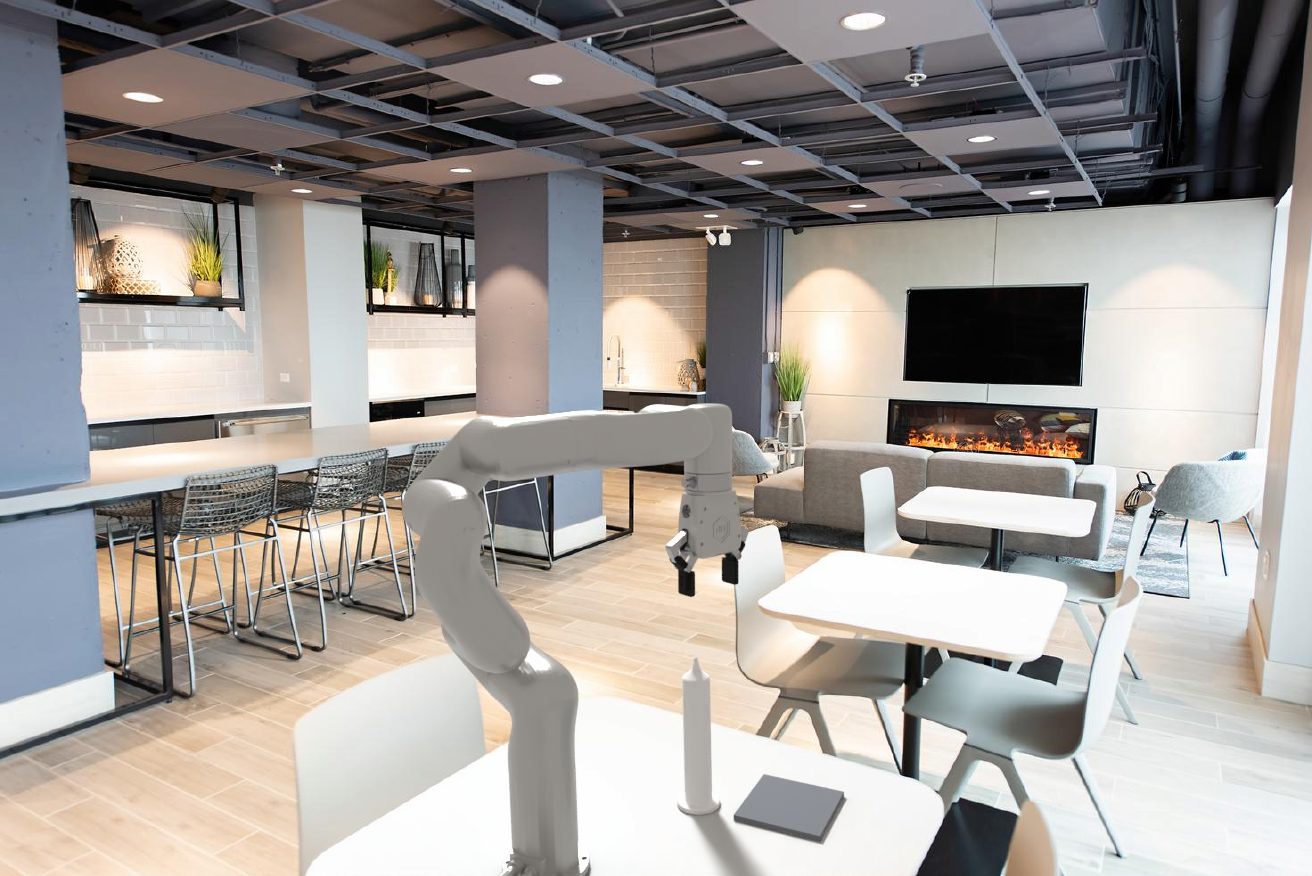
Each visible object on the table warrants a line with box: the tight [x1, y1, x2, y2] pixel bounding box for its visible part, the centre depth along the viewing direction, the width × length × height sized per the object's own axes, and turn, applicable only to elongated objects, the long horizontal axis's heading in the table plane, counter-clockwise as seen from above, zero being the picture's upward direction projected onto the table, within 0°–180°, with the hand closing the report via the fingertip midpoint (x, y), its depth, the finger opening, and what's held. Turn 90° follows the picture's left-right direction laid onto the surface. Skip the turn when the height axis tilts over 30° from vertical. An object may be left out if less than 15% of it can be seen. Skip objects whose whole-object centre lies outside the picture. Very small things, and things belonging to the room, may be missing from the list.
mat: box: [733, 773, 845, 842], centre depth 138 cm, size 14×14×1 cm
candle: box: [676, 656, 721, 816], centre depth 139 cm, size 7×7×25 cm
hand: (708, 588), depth 136 cm, fingers open, 9 cm apart
